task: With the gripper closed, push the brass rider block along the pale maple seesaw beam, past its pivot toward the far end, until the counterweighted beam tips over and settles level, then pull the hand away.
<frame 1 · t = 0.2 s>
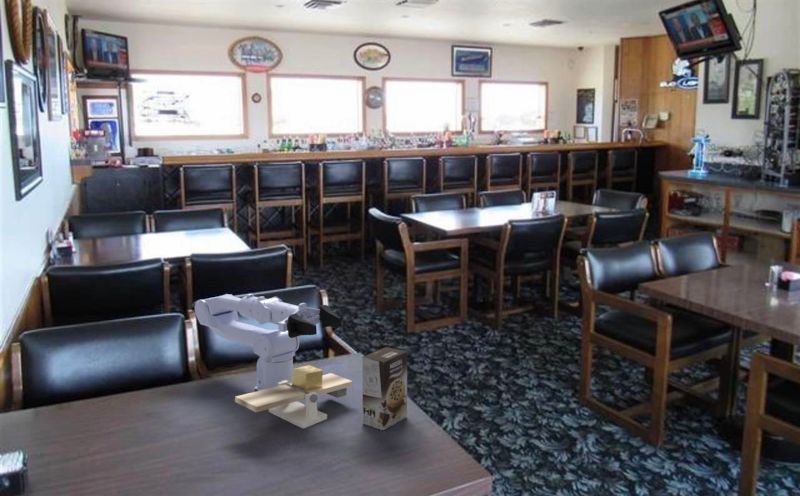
hand: (328, 326, 151), 21 cm above the table, tool horizontal, fingers open, 7 cm apart
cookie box: (385, 421, 150), on the table
stand: (297, 415, 153), on the table
rider: (306, 385, 154), point 6 cm above the table, tilted 6°, touching beam
beam: (296, 395, 152), point 5 cm above the table, hinge at -5.1°, touching rider
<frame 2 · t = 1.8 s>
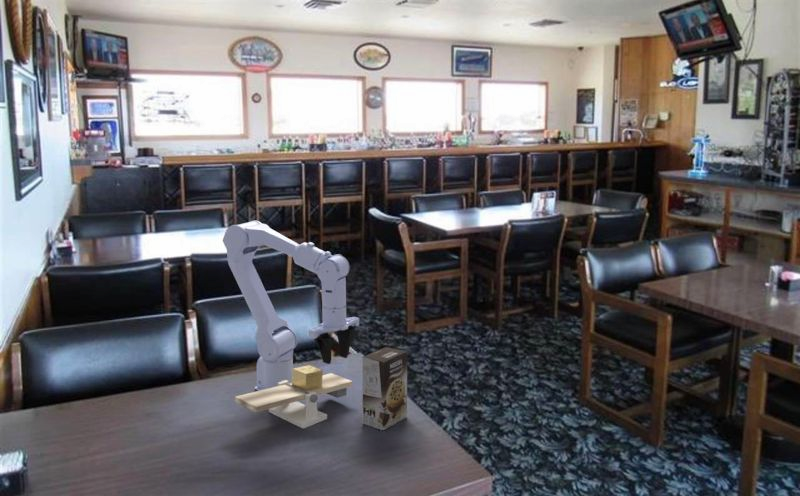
hand: (335, 359, 160), 10 cm above the table, tool pointing down, fingers open, 5 cm apart
nothing on the table moved.
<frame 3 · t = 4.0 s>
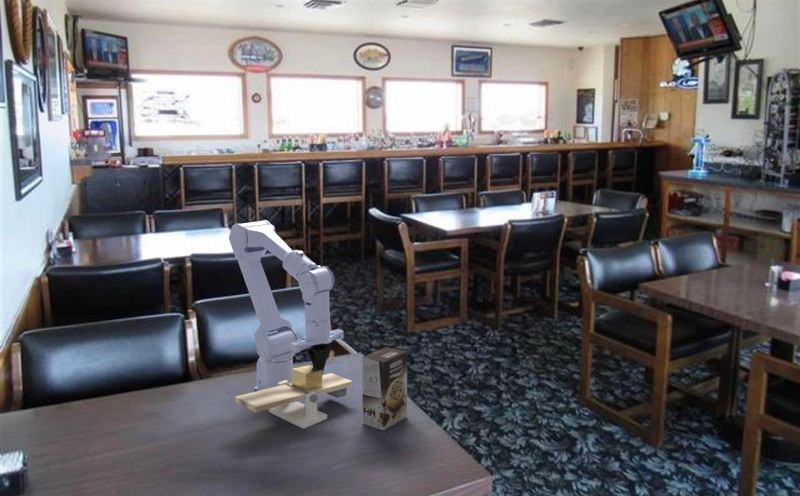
hand: (318, 373, 156), 8 cm above the table, tool pointing down, fingers closed, pressing on rider
rider: (306, 385, 154), point 6 cm above the table, tilted 5°, touching beam, gripper
everything else where it was.
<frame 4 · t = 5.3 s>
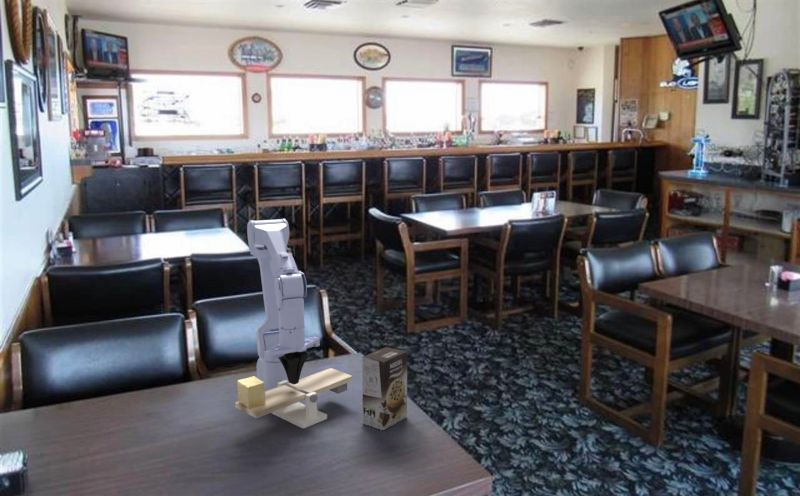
hand: (293, 382, 151), 8 cm above the table, tool pointing down, fingers closed
rider: (259, 389, 145), point 9 cm above the table, tilted 91°, touching beam
beam: (296, 395, 152), point 5 cm above the table, hinge at 0.5°, touching rider
everything else where it was.
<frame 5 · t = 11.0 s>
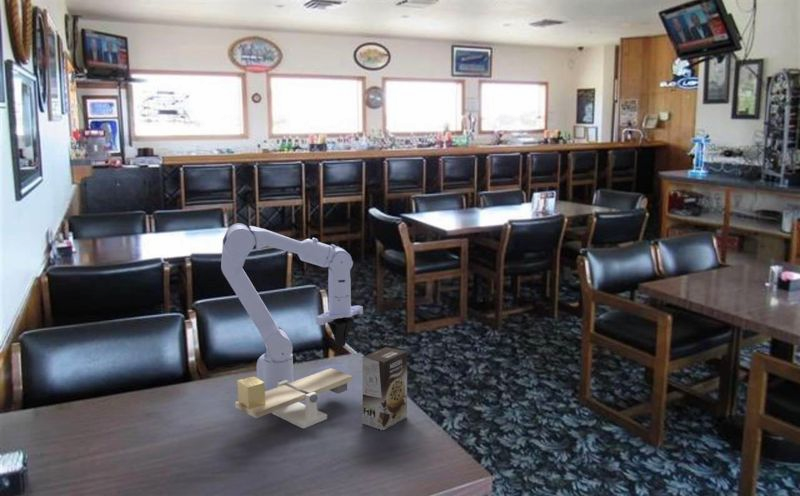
hand: (340, 345, 170), 10 cm above the table, tool pointing down, fingers closed
nothing on the table moved.
at the end: beam at +0° (first picture: -5°); rider inside the target area (0.8 cm from its centre), point 9.0 cm above the table; rider touching beam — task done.
